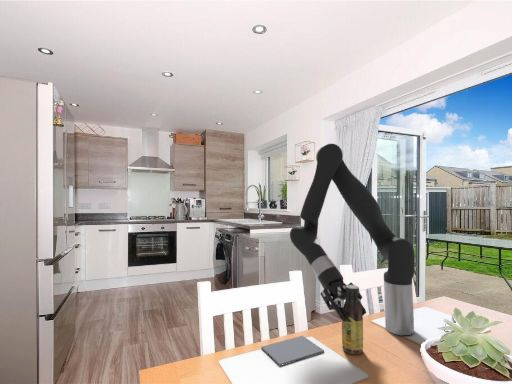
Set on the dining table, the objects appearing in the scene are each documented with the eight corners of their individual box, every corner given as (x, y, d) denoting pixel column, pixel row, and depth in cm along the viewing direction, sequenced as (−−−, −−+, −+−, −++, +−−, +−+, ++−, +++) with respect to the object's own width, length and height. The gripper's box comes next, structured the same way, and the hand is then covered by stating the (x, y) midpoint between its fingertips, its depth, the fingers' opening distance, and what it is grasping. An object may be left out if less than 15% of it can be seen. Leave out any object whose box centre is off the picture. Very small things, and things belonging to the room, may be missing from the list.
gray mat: (302, 337, 95) (302, 335, 95) (324, 352, 85) (323, 350, 85) (261, 348, 87) (261, 346, 87) (279, 366, 78) (279, 364, 78)
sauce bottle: (338, 346, 88) (337, 283, 89) (357, 345, 89) (355, 282, 90) (347, 357, 82) (346, 289, 83) (367, 355, 83) (365, 288, 84)
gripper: (317, 268, 89) (347, 316, 79) (346, 263, 97) (377, 306, 87) (306, 281, 93) (333, 328, 83) (334, 275, 101) (363, 318, 91)
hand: (355, 317), depth 85 cm, fingers open, 8 cm apart
